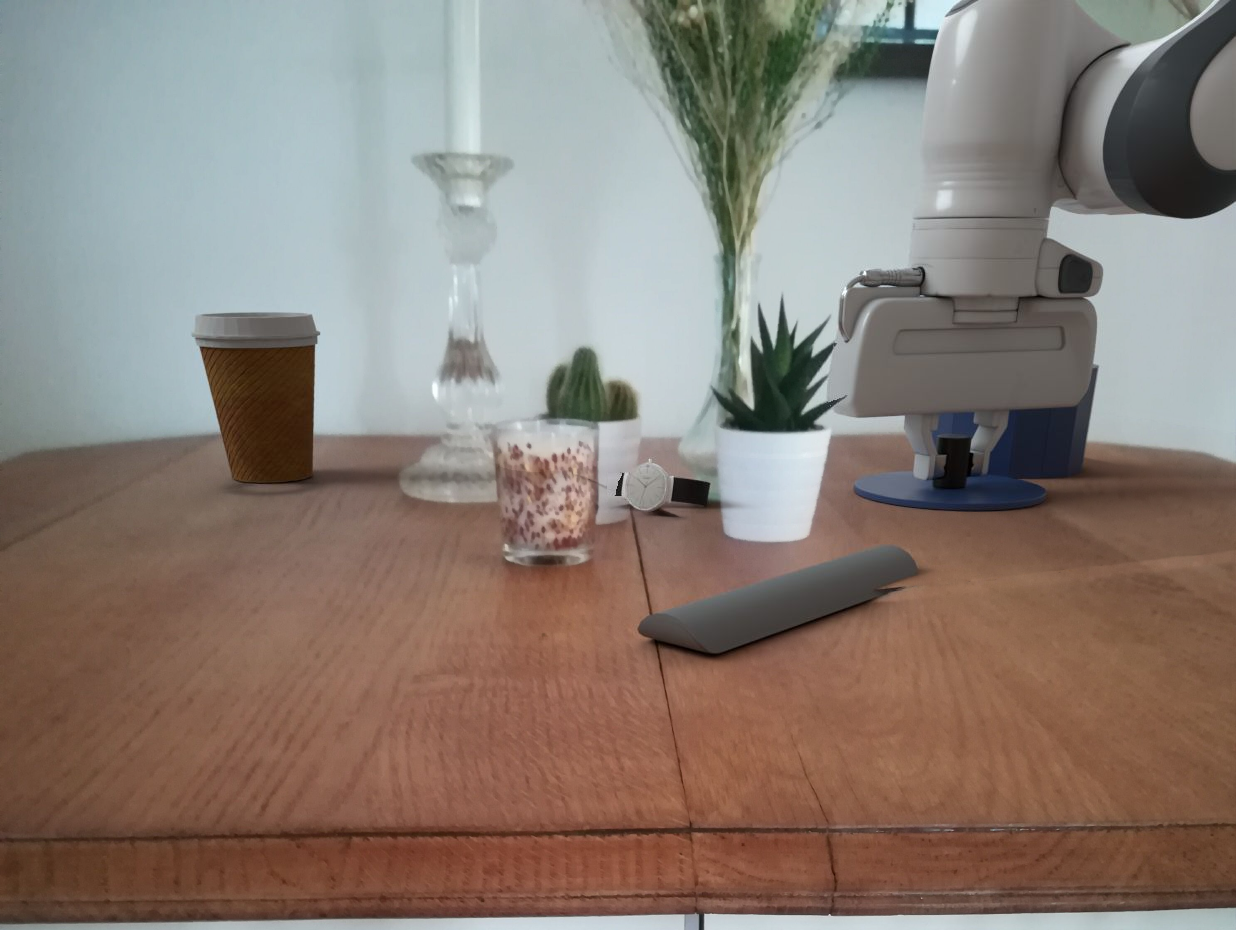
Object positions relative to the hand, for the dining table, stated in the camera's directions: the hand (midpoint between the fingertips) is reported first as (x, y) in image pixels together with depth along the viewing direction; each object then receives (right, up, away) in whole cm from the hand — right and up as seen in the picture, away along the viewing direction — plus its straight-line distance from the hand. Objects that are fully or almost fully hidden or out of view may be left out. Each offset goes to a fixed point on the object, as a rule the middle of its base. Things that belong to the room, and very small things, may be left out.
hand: (950, 477), depth 88 cm
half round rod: (-15, -15, -27) cm, 34 cm away
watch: (-21, -3, -2) cm, 22 cm away
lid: (0, -1, +1) cm, 1 cm away
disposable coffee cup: (-52, +3, +10) cm, 53 cm away
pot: (+8, +4, +12) cm, 15 cm away
